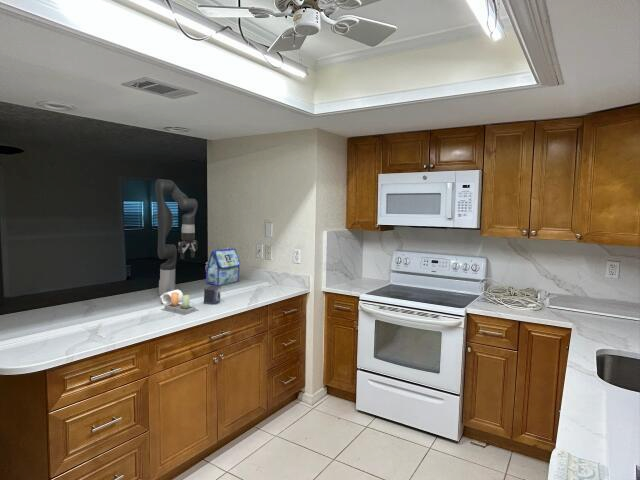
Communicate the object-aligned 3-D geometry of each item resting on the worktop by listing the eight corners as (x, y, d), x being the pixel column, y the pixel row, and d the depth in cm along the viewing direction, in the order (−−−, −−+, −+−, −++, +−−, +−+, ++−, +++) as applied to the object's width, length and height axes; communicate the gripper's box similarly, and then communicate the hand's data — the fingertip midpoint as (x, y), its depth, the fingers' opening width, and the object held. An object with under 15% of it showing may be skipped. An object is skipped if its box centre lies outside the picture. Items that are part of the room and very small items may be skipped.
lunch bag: (219, 287, 293) (220, 251, 290) (204, 283, 302) (205, 249, 299) (241, 282, 311) (242, 249, 309) (226, 279, 320) (227, 246, 318)
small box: (213, 306, 243) (213, 289, 242) (203, 305, 244) (203, 288, 243) (220, 302, 253) (221, 286, 252) (211, 301, 254) (211, 285, 253)
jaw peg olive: (180, 311, 227) (180, 295, 226) (185, 309, 230) (185, 294, 229) (185, 312, 225) (186, 296, 224) (190, 310, 229) (191, 295, 228)
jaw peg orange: (169, 308, 230) (169, 293, 229) (174, 307, 234) (174, 292, 233) (174, 309, 229) (175, 294, 228) (179, 308, 232) (180, 293, 231)
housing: (160, 311, 228) (160, 306, 227) (175, 306, 239) (175, 301, 238) (184, 316, 220) (184, 311, 220) (199, 311, 231) (199, 306, 231)
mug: (183, 303, 247) (183, 290, 246) (172, 306, 238) (172, 293, 237) (167, 300, 251) (167, 287, 250) (155, 304, 242) (156, 291, 241)
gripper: (191, 230, 250) (191, 256, 252) (174, 231, 237) (174, 258, 239) (201, 231, 247) (200, 257, 249) (184, 233, 234) (183, 260, 236)
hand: (187, 258), depth 244 cm, fingers open, 8 cm apart
